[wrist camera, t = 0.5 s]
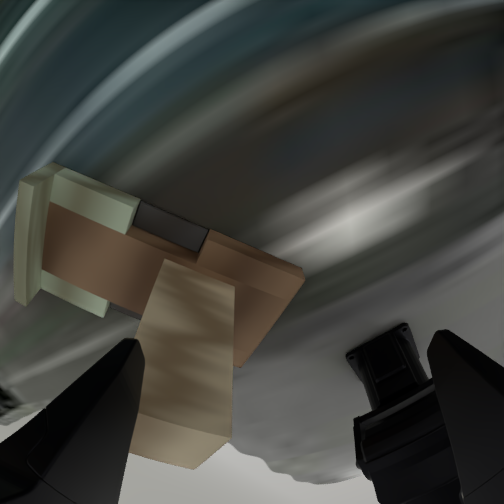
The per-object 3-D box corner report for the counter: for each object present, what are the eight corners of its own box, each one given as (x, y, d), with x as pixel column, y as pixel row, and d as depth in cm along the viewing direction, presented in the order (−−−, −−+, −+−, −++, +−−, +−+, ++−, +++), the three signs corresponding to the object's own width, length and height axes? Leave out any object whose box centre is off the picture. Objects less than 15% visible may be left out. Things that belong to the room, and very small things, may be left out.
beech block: (234, 286, 21) (231, 438, 11) (207, 334, 23) (194, 469, 13) (164, 258, 20) (113, 403, 10) (145, 311, 22) (103, 443, 12)
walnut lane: (301, 268, 22) (312, 303, 19) (240, 354, 26) (241, 391, 23) (52, 162, 17) (19, 180, 14) (37, 272, 22) (14, 300, 18)
